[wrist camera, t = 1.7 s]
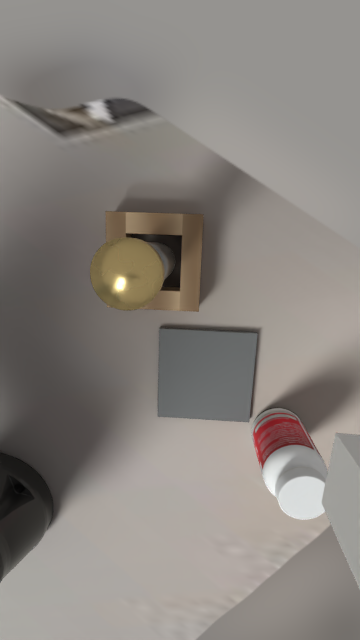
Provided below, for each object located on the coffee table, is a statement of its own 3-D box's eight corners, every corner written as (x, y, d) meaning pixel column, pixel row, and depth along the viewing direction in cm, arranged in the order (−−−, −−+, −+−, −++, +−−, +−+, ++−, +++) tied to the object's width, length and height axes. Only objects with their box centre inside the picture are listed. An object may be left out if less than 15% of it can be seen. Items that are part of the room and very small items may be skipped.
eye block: (114, 302, 37) (107, 307, 34) (113, 213, 35) (105, 211, 32) (198, 306, 37) (198, 311, 34) (203, 216, 34) (203, 214, 32)
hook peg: (136, 281, 36) (91, 308, 21) (136, 238, 35) (89, 236, 20) (177, 283, 36) (161, 312, 21) (178, 240, 35) (162, 238, 20)
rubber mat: (158, 413, 40) (157, 416, 40) (160, 327, 38) (159, 328, 37) (248, 419, 40) (249, 422, 39) (256, 332, 37) (257, 333, 36)
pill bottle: (240, 428, 40) (255, 496, 29) (278, 396, 39) (308, 455, 28) (274, 460, 41) (301, 539, 30) (313, 430, 39) (355, 500, 29)
